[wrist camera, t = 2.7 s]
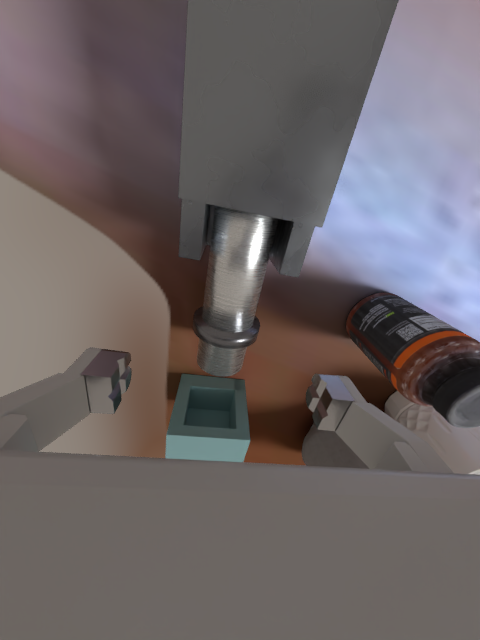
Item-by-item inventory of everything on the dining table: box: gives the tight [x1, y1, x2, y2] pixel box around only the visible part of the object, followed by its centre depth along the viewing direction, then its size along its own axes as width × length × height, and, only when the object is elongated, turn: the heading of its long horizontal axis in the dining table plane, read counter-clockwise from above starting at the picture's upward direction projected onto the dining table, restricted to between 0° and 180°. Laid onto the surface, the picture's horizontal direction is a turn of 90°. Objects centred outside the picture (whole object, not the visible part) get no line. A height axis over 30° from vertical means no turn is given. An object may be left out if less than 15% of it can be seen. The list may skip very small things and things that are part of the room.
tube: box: [193, 206, 278, 376], centre depth 15 cm, size 19×5×5 cm, turn 169°
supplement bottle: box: [346, 293, 480, 428], centre depth 18 cm, size 6×6×11 cm
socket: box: [166, 374, 250, 462], centre depth 24 cm, size 4×7×7 cm, turn 79°
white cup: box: [385, 390, 480, 475], centre depth 25 cm, size 8×8×10 cm
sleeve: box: [178, 0, 398, 277], centre depth 13 cm, size 12×7×7 cm, turn 169°
